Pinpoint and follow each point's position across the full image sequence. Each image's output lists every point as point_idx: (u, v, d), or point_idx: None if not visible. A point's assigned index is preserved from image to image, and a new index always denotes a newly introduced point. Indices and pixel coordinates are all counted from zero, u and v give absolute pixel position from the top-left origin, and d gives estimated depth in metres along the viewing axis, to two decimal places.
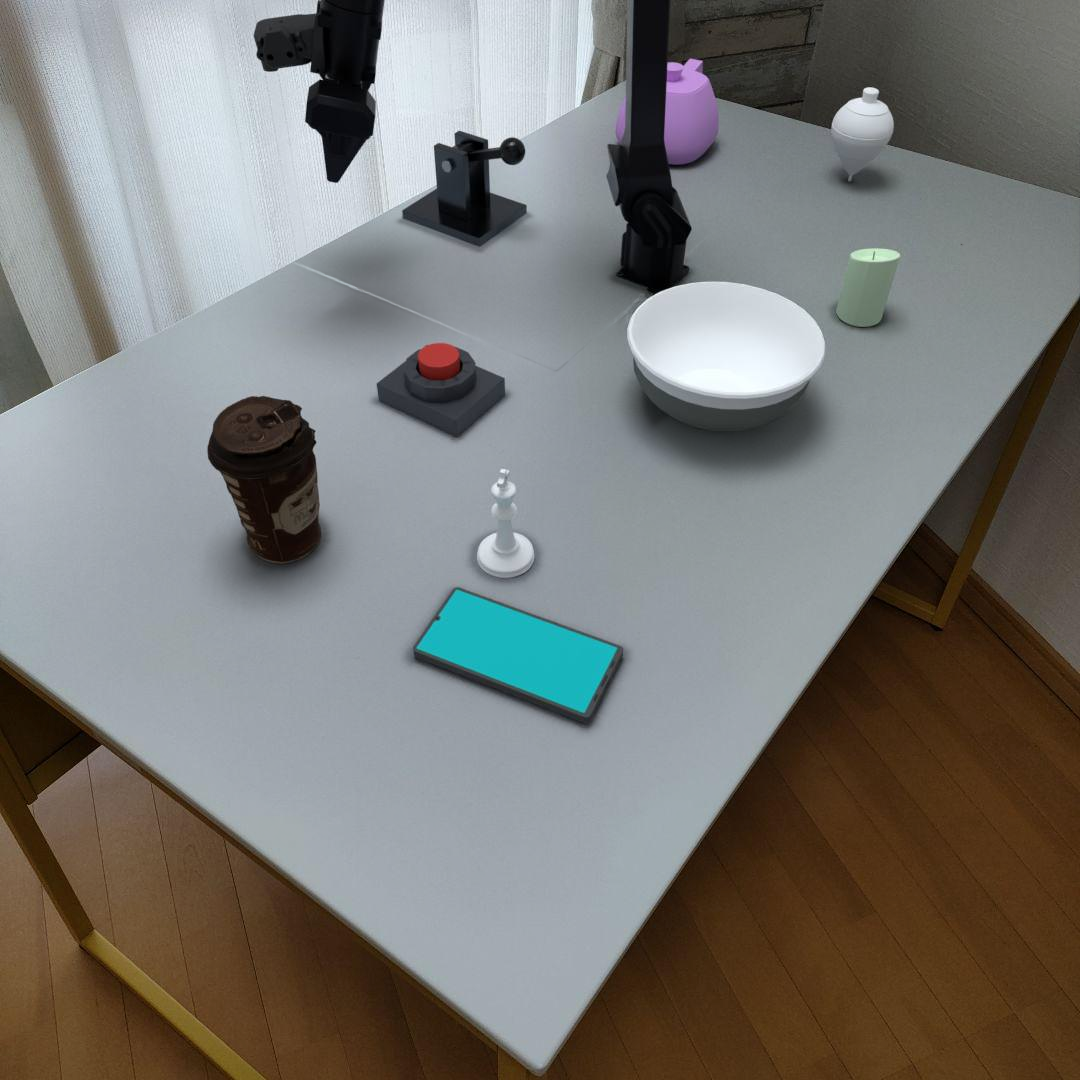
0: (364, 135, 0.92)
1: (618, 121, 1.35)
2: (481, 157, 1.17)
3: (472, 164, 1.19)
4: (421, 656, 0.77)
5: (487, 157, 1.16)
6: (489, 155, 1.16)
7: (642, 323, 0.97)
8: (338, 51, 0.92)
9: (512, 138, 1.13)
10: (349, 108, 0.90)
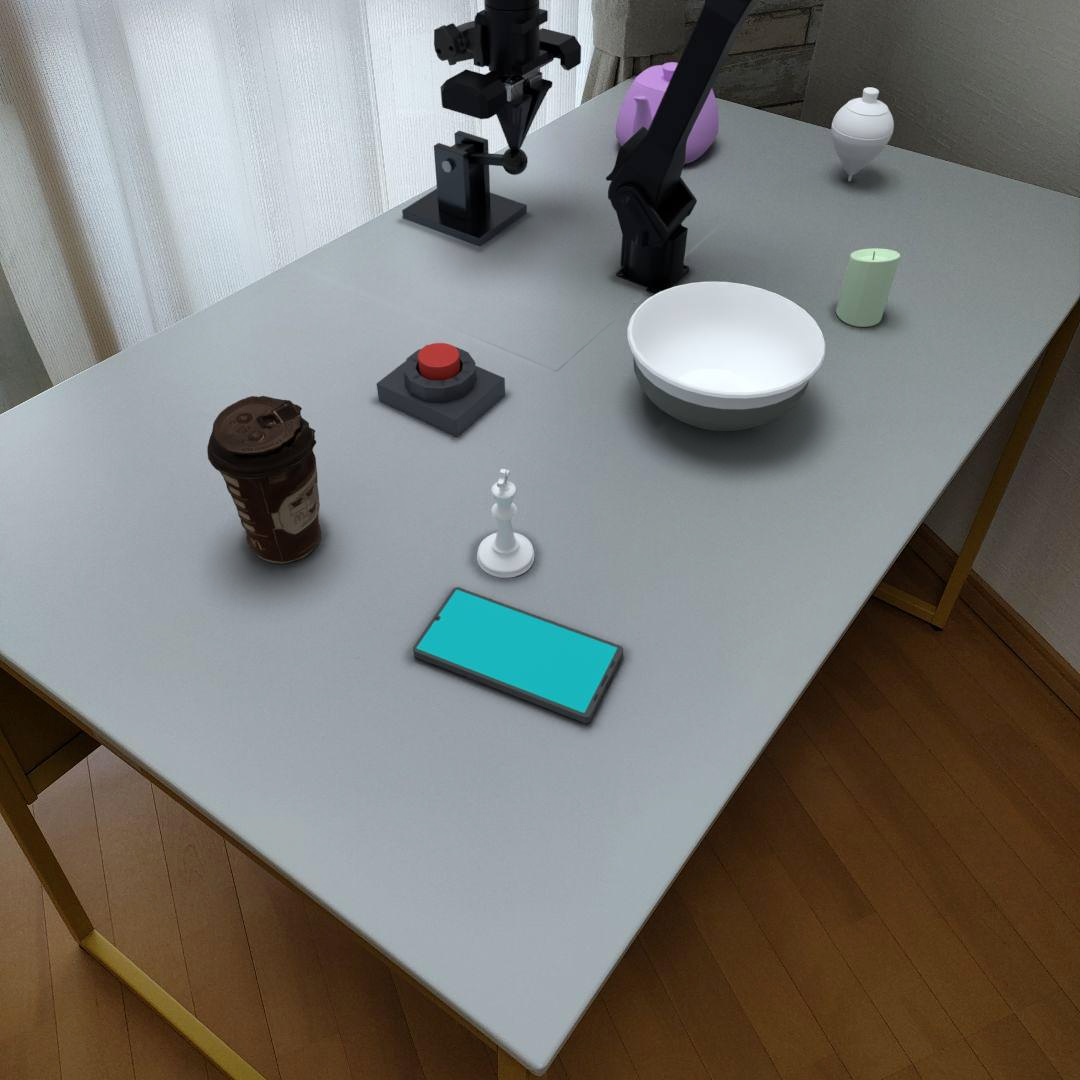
0: (479, 117, 1.02)
1: (618, 121, 1.35)
2: (482, 161, 1.17)
3: (472, 166, 1.19)
4: (421, 656, 0.77)
5: (489, 162, 1.17)
6: (491, 160, 1.16)
7: (642, 323, 0.97)
8: (491, 46, 1.04)
9: None
10: (466, 92, 1.02)
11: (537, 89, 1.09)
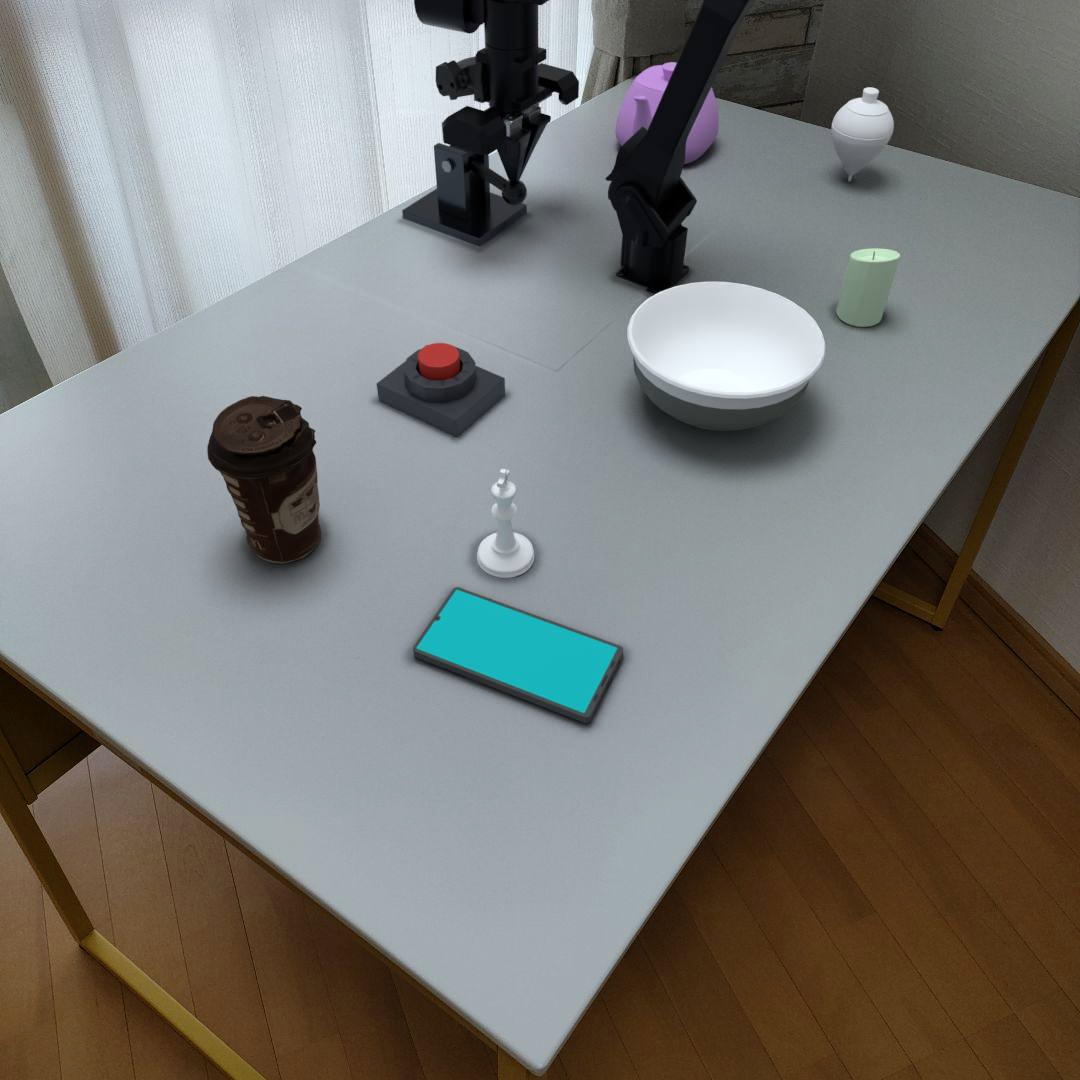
0: (479, 153, 1.05)
1: (618, 121, 1.35)
2: (482, 175, 1.19)
3: (469, 170, 1.20)
4: (421, 656, 0.77)
5: (488, 180, 1.18)
6: (491, 179, 1.18)
7: (642, 323, 0.97)
8: (491, 83, 1.07)
9: (520, 184, 1.17)
10: (467, 129, 1.04)
11: (536, 124, 1.11)
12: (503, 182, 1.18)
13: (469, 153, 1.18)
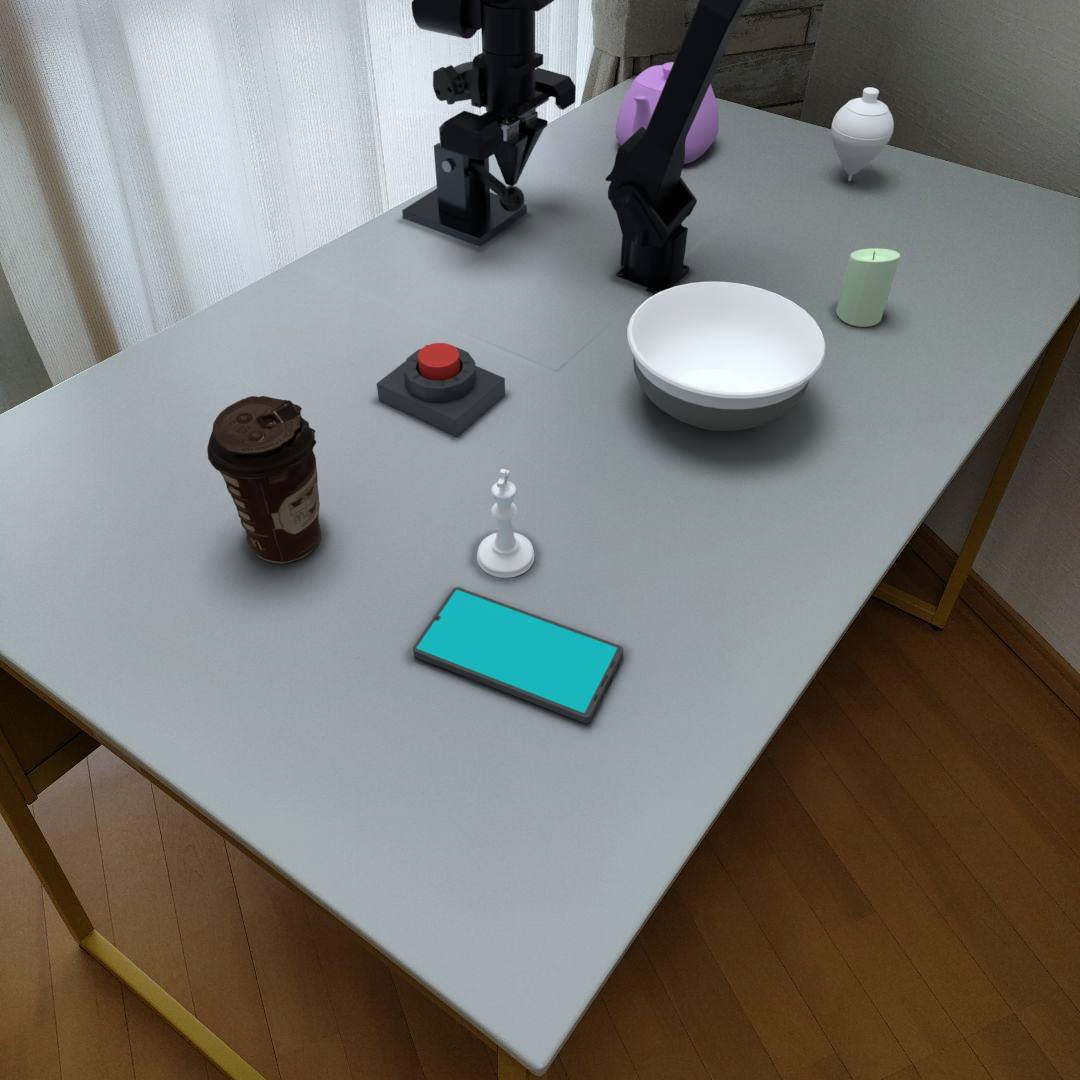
0: (476, 158, 1.06)
1: (618, 121, 1.35)
2: (481, 178, 1.19)
3: None
4: (421, 656, 0.77)
5: (487, 183, 1.19)
6: (490, 184, 1.19)
7: (642, 323, 0.97)
8: (488, 88, 1.08)
9: (519, 192, 1.18)
10: (464, 134, 1.05)
11: (533, 128, 1.12)
12: (502, 188, 1.18)
13: None
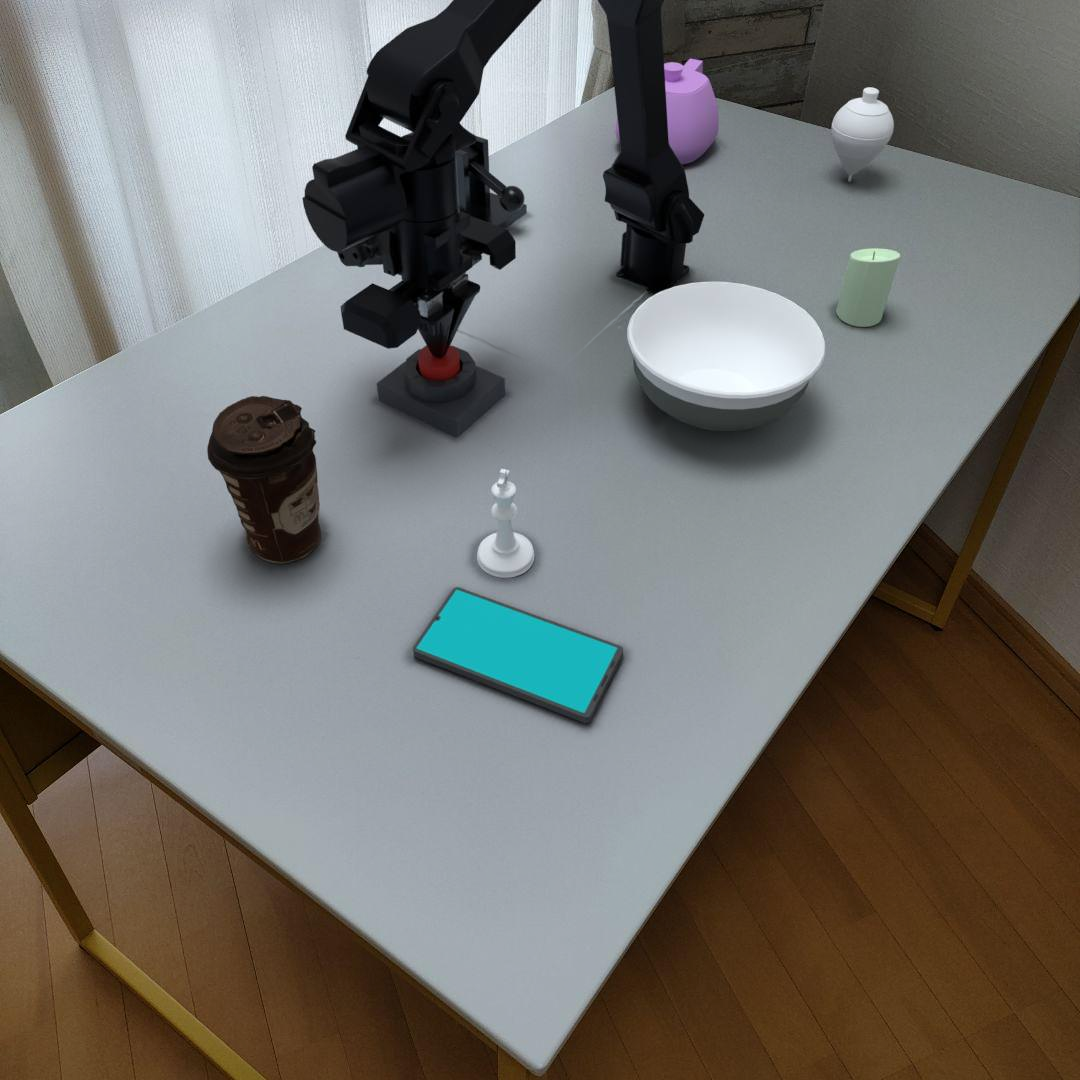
0: (386, 346, 0.85)
1: None
2: (481, 178, 1.19)
3: None
4: (421, 656, 0.77)
5: (487, 183, 1.19)
6: (490, 184, 1.19)
7: (642, 323, 0.97)
8: (402, 256, 0.87)
9: (519, 192, 1.18)
10: (369, 318, 0.84)
11: (461, 297, 0.91)
12: (502, 188, 1.18)
13: (470, 155, 1.18)
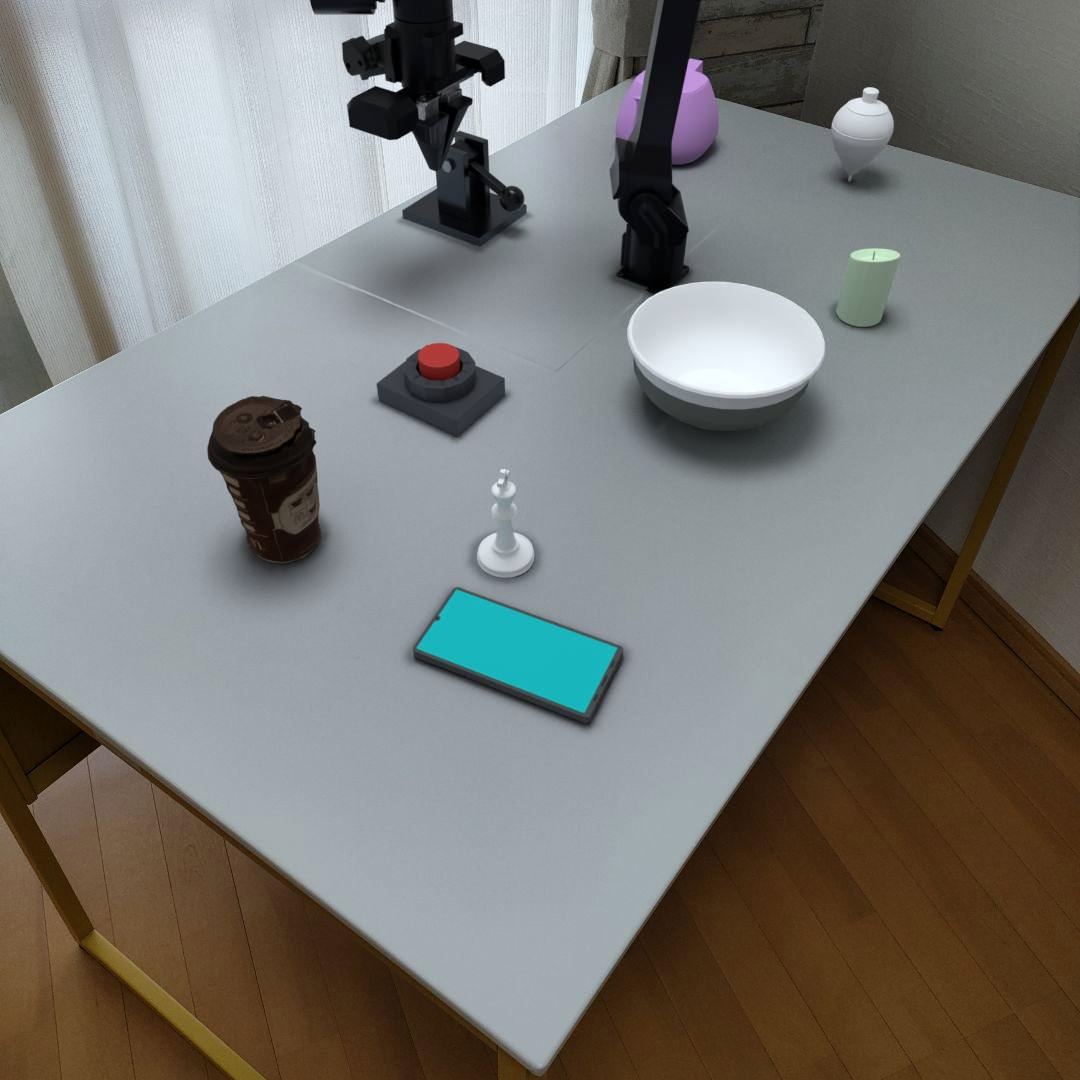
0: (387, 138, 0.95)
1: (618, 121, 1.35)
2: (481, 178, 1.19)
3: None
4: (421, 656, 0.77)
5: (487, 183, 1.19)
6: (490, 184, 1.19)
7: (642, 323, 0.97)
8: (402, 61, 0.97)
9: (519, 192, 1.18)
10: (373, 111, 0.94)
11: (455, 107, 1.01)
12: (502, 188, 1.18)
13: (470, 155, 1.18)
